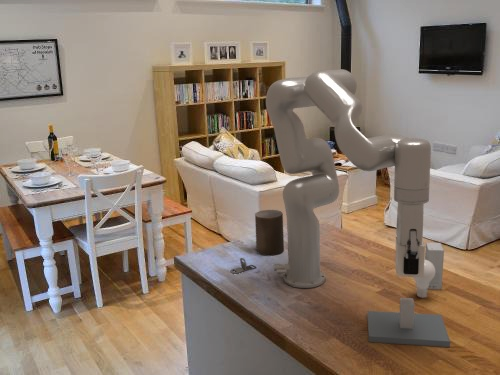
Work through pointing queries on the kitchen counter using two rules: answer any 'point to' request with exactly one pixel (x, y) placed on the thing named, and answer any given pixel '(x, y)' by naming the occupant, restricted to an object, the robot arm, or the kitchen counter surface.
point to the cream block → (400, 260)
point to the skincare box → (435, 263)
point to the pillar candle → (269, 232)
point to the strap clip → (244, 267)
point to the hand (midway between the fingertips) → (409, 267)
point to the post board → (407, 336)
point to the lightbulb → (425, 279)
